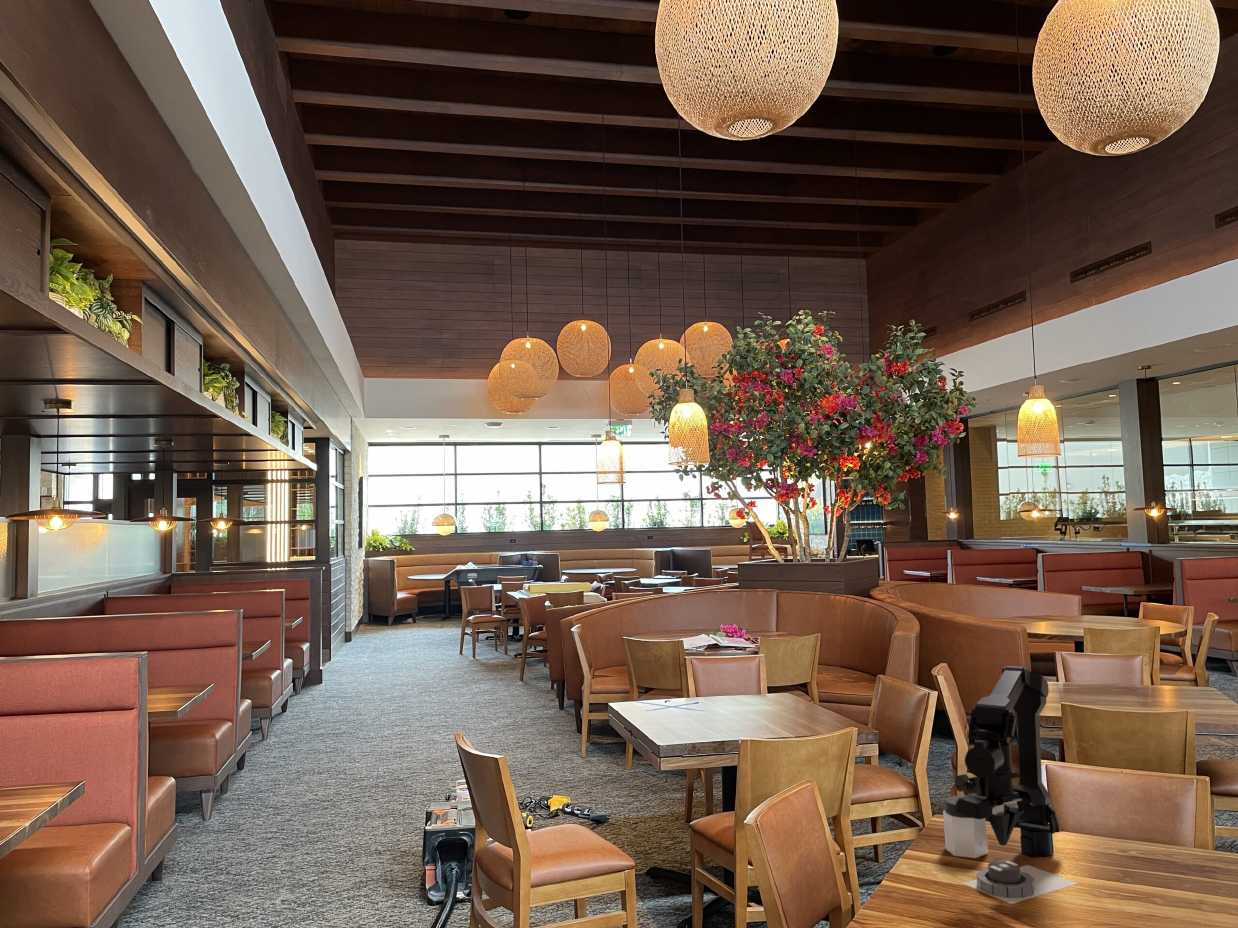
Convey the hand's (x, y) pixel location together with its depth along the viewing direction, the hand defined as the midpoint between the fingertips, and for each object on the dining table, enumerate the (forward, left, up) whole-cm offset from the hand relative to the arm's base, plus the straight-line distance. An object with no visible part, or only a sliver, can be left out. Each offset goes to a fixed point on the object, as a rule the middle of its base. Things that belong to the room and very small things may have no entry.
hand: (1002, 844), depth 181 cm
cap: (0, 0, -8) cm, 8 cm away
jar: (-9, -19, -10) cm, 23 cm away
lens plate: (-4, 0, -9) cm, 10 cm away
